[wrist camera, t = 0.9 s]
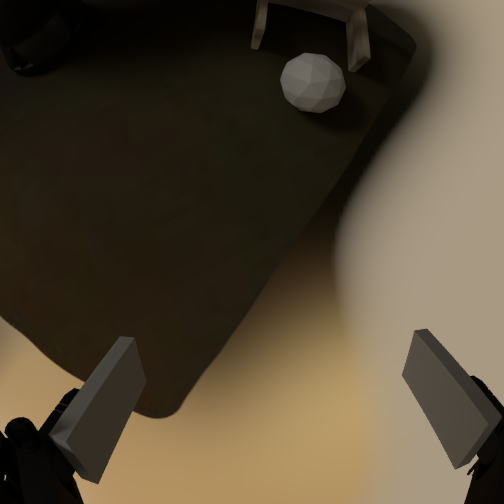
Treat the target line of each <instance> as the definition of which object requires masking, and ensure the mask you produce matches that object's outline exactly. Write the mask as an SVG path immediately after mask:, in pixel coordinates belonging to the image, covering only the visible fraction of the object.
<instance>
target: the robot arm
mask: <svg viewBox="0 0 504 504" xmlns="http://www.w3.org/2000/svg"><path fill="white" fill-rule="evenodd" d="M88 23H89V12H88V10H87V8H86V6H85V4H84V3H83V2H82V1H81V0H0V47H1V49H2V52H3V54H4V57H5V59H6V61H7V64H8V66H9V67H10V68H11V69H12V70H13V71H14V72H16V73H17V74H19V75H21V76H32V75H36V74H39V73H41V72H43V71H45V70H47V69H48V68H50V67H52V66H53V65H55V64H56V63H57V62H59V61H60V60H61V59H62V58H63V57H65V56H66V55H67V54H68V53H69V52H70V51H71V50H72V49H73V48H74V46H75V45H76V44H77V43H78V41H79V40H80V39H81V37H82V36H83V34H84V32H85V30H86V28H87V26H88ZM402 376H403V378H404V379H405V381H406V383H407V384H408V386H409V387H410V389H411V391H412V393H413V394H414V396H415V398H416V399H417V401H418V403H419V405H420V406H421V408H422V409H423V411H424V413H425V415H426V417H427V418H428V420H429V422H430V424H431V425H432V427H433V429H434V431H435V433H436V434H437V436H438V438H439V440H440V442H441V444H442V446H443V447H444V449H445V451H446V453H447V455H448V457H449V459H450V461H451V463H452V465H453V466H454V469H458V468H460V467H462V466H464V465H466V464H468V463H470V461H471V460H472V459H473V458H474V456H475V455H476V454H477V456H478V458H479V459H478V460H477V462H476V463H475V464H474V465H473V466H472V468H471V469H470V470H469V472H468V473H467V475H469V474H470V473H471V472H472V471H473V470H474V472H473V475H472V480H471V483H470V487H469V490H468V493H467V496H466V500H465V503H464V504H504V407H503V405H502V404H501V403H500V402H499V401H498V399H497V398H496V397H495V396H494V395H493V393H492V392H491V391H490V390H488V387H487V386H486V385H485V384H484V383H483V382H482V380H480V379H478V378H476V377H475V376H469V375H468V374H467V373H466V371H465V370H464V369H463V368H462V367H461V366H460V365H459V363H458V362H457V361H456V360H455V359H454V358H453V357H452V355H451V354H450V353H449V352H448V351H447V350H446V349H445V348H444V347H443V346H442V344H441V343H440V342H439V341H438V340H437V339H436V338H435V337H434V336H433V335H432V333H431V332H430V331H429V330H428V329H422V330H415V331H414V334H413V338H412V342H411V346H410V350H409V353H408V357H407V360H406V363H405V367H404V370H403V373H402ZM145 384H146V379H145V375H144V372H143V368H142V365H141V361H140V357H139V354H138V350H137V346H136V342H135V338H133V337H123V336H120V337H119V339H118V340H117V341H116V343H115V344H114V345H113V346H112V348H111V349H110V350H109V352H108V353H107V354H106V356H105V357H104V358H103V359H102V361H101V362H100V363H99V365H98V366H97V367H96V369H95V370H94V371H93V373H92V374H91V375H90V377H89V378H88V379H87V381H86V382H85V383H84V385H83V386H82V388H81V389H76V388H74V389H72V390H71V391H69V392H68V393H67V394H65V395H64V397H63V398H62V399H61V401H60V402H59V404H58V405H57V406H56V407H55V410H53V412H52V413H51V414H50V415H49V417H48V418H47V420H46V421H45V422H44V424H43V425H42V427H41V428H40V429H39V431H37V429H36V427H35V426H34V424H33V423H32V422H31V421H30V420H29V419H27V418H24V417H18V418H15V419H13V420H11V421H10V422H9V423H8V424H7V426H6V427H5V432H4V433H5V434H6V435H7V437H8V438H5V436H4V435H3V434H2V432H1V431H0V504H84V503H83V500H82V498H81V495H80V492H79V489H78V487H77V484H76V481H75V479H74V478H73V474H74V472H75V471H76V472H77V473H78V474H79V476H80V477H81V478H82V479H85V480H88V481H90V482H93V483H96V484H98V483H99V481H100V479H101V477H102V474H103V473H104V470H105V468H106V466H107V464H108V461H109V459H110V457H111V455H112V453H113V450H114V448H115V446H116V444H117V442H118V440H119V438H120V436H121V433H122V431H123V429H124V427H125V425H126V423H127V421H128V419H129V417H130V415H131V413H132V411H133V409H134V407H135V405H136V402H137V400H138V398H139V396H140V394H141V392H142V390H143V388H144V386H145ZM5 475H6V479H5V480H4V478H5Z"/></svg>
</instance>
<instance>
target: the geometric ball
mask: <svg viewBox="0 0 504 504" xmlns="http://www.w3.org/2000/svg"><path fill="white" fill-rule="evenodd" d="M280 81H281V85H282V88H283V91H284V95H285V98H286V99H287V100H288V101H289V102H290V103H291V104H292V105H294V106H295V107H297V108H298V109H299V110H301V111H308V112H315V113H322V112H324V111H326V110H328V109H330V108H332V107H334V106H336V105H338V103H339V101H340V99H341V97H342V95H343V93H344V91H345V89H346V86H345V82H344V78H343V74H342V70H341V68H340V67H339V66H337V65H336V64H335V63H334V62H333V61H331V60H330V59H329V58H328V57H327V56H325V55H318V54H309V53H303V54H302V55H300V56H298V57H296V58H294V59H292V60H291V61H289V62H287V64H286V66H285V68H284V70H283V72H282V75H281V78H280Z"/></svg>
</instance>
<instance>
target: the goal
mask: <svg viewBox="0 0 504 504" xmlns="http://www.w3.org/2000/svg"><path fill="white" fill-rule="evenodd" d="M371 1H372V0H258V1H257V8H256V14H255V21H254V28H253V35H252V42H251V49H257V50H258V48H259V45H260V42H261V40H262V37H263V34H264V31H265V24H266V16H267V8H268V3H274V4H279V5H284V6H289V7H293V8H298V9H302V10H306V11H310V12H314V13H317V14H321V15H324V16H328V17H331V18H334V19H337V20H340V21H344V22H346V35H347V52H348V71H351V72H354V73H355V72H356V71H357V70H358V69H359V68H360V67H361V66H362V65H364V64H365V63H366V62H367V61H368V60H369V59H370V58H371V57H370V47H369V37H368V29H367V21H366V14H365V8H366V6H367V5H368V4H369V3H370V2H371Z"/></svg>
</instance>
